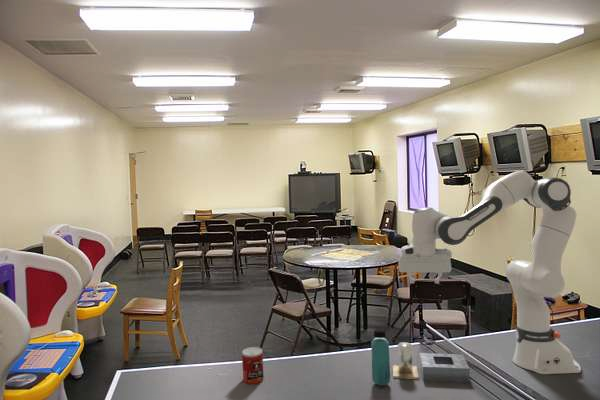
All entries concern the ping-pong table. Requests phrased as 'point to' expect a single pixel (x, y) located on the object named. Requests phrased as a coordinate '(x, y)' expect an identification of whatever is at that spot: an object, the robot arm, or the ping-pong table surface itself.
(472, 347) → the ping-pong table surface
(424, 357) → the block
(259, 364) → the canned food
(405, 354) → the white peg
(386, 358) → the beverage bottle
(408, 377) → the oak pad
